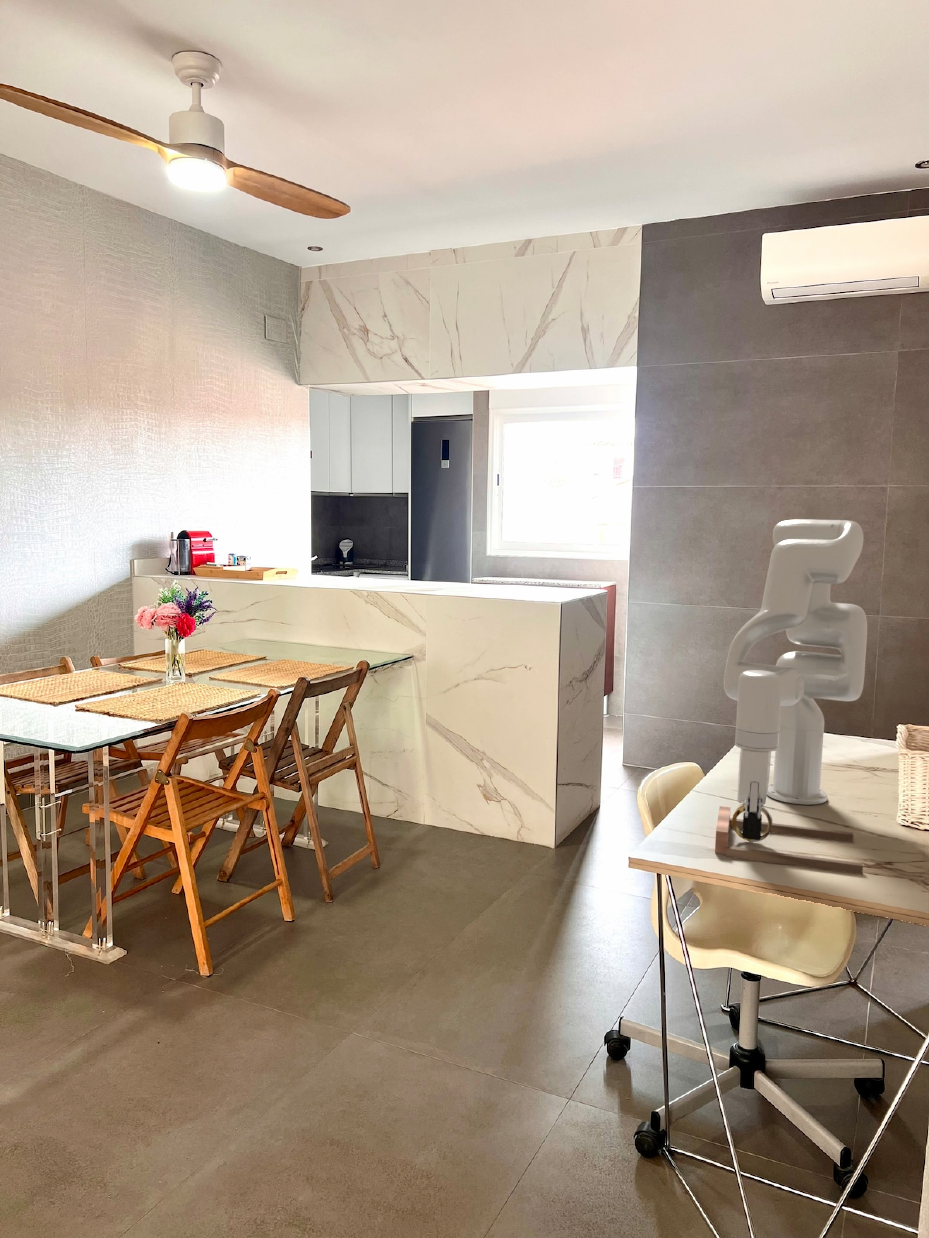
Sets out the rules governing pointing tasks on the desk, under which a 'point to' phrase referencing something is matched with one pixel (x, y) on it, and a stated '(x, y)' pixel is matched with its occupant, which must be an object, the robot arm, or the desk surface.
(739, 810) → the ring
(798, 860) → the channel
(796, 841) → the desk surface
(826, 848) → the desk surface
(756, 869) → the desk surface
